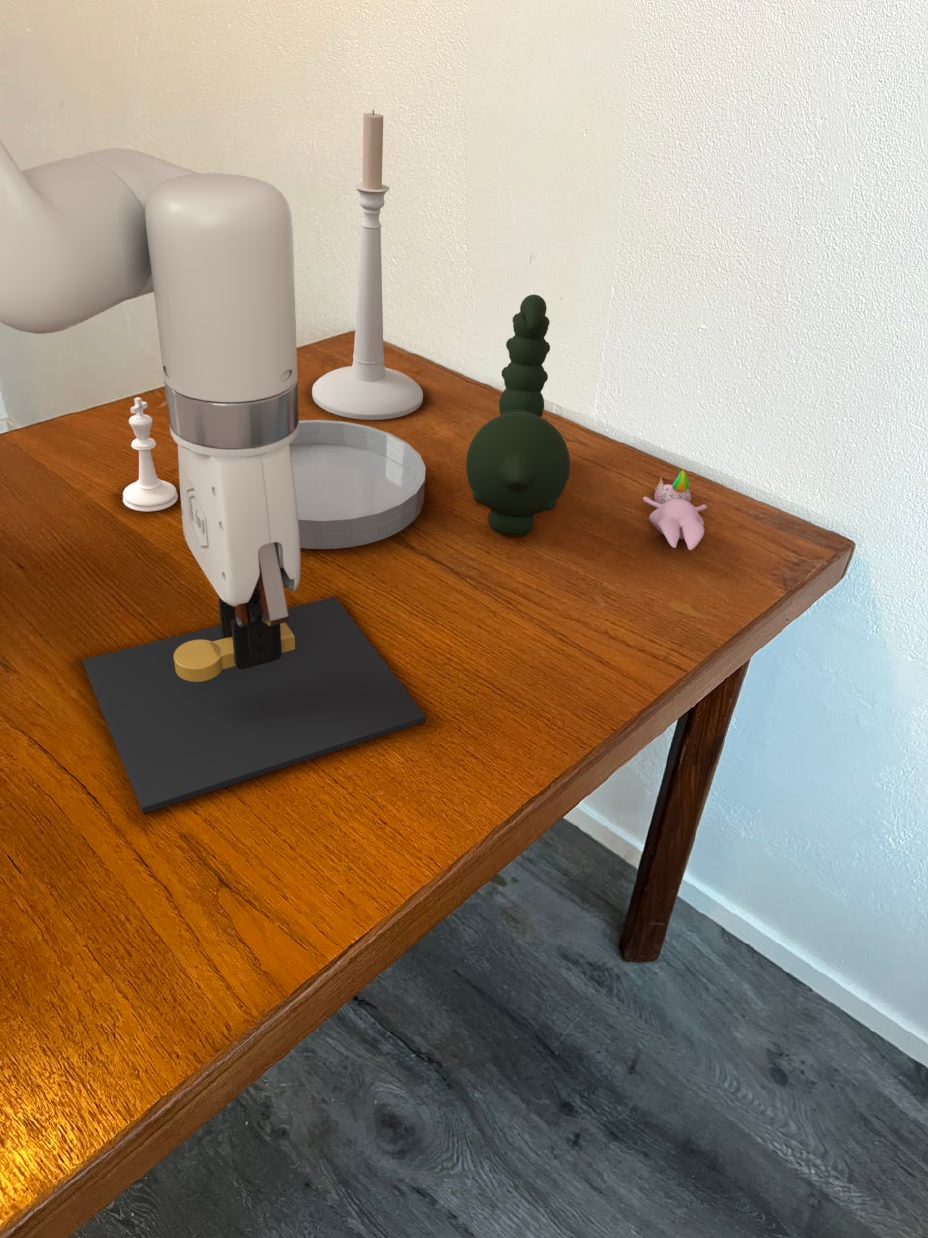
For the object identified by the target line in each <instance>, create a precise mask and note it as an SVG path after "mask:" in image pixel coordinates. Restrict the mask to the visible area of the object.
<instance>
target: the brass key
mask: <svg viewBox="0 0 928 1238" xmlns="http://www.w3.org/2000/svg"><path fill="white" fill-rule="evenodd" d="M280 631H281V650H282V653H283V652H287V651H291V650H294V649H295V636H294V635H293V633H292V632H291V630H290V629H289V627H288V626H287V624H286V623H281V624H280ZM174 664H175V671H176V673H177V675H178V676H179V677H181V678H182V679H184V680H187V681H191V682H202V681H207V680H210V679H212V678H214V677H216V676H217V675H218V674H220V672H221V671H222V669H226V668H229V667H233V666H236V664H235V661H234V650H233V638H232V637H229V638H224V639H220V640H217V641H213V642H212V641H209V640H193V641H189V642H186V643H184V644H182V645H181V646H179V647H178V648H177V649H176V651H175V653H174Z"/></svg>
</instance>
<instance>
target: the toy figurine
mask: <svg viewBox="0 0 928 1238" xmlns="http://www.w3.org/2000/svg"><path fill="white" fill-rule="evenodd" d="M547 309H548V308H547V302H546V301H545V299H544V298H543V297H542V296H540V295H539V294H535V293H534V294H529V295H527V296H526V297H525V298H523V300H522V301H521V304H520V306H519V312H518V313H515V314H514V315H513V317H512V327H513V332H514V335H513V336H512V337H510V338H508V339H507V341H506V344H505V347H506V350H508V357H509V360H510V362H509V363H508V365H507V366H505V367H503V368H502V370H501V377H502V379H503V382H504V387H505V389H504V390H503V391H502V393H501V394H500V396H499V397H500V398H499V401H498V411H499V415H498V416H496V417H493V418H492V419H490V420H489V421H488V422H486V423H485V424H483V425H482V426H481V428H479V430H478V431H477V432H476V433H475V434H474V437H473V438H472V440H471V442H470V444H469V446H468V449H467V453H466V457H465V458H466V459H465V470H466V477H467V482H468V484H469V488H470V490H471V492H472V499H473V500H474V501H475V503H477V504H479V505H483V506H484V507H486V508H487V509H489V512H488V514H487V515H488V516H487V523H488V526H489V528H490V529H491V530H492V531H493V532H494V533H496V534H499V535H502V536H506V537H522V536H525V535H527V534H529V533H531V531H532V530H533V528H534V525H535V515H538V514H540V513H542V512H544V511H545V512H550V511H552V510H554V509H555V508H556V506H557V502H558V500H559V498H560V497H561V495H562V494H563V492H564V491H565V488H566V485H567V482H568V480H569V476H570V471H571V459H570V452H569V448H568V446H567V443H566V441H565V439H564V437H563V436H562V434H561V433H560V432H559V430H558V429H557V428H556V427H555V426H554V425H553V424H551V422H549V421H548V420H547V419H545V418H543V414H544V411H545V399H544V396H543V393H542V390H543V389H544V387H545V383H546V382H547V381H548V378H549V374H548V373H547V371H546V370H545V368H544V366H543V364H544V363H545V361H546V358H547V355H548V354H549V352H550V350H551V345H550V343H549V342H548V341H547V340H546V338H545V337H546V336H547V333H548V330H549V326H550V323H551V322H550V318H549V317H548V316H547V315H546V314H547Z"/></svg>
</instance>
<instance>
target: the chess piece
mask: <svg viewBox="0 0 928 1238" xmlns="http://www.w3.org/2000/svg"><path fill="white" fill-rule="evenodd" d="M133 401H134V405H133V406H131V407H130V408H129V410H130V413H131V414H134V415H131V416H130V417H129V418H128V424H129V426H130V428H131V429H132V431H133V434H134V435H135V438H134V439H133V440H132V441H131V445H130V446H131V448H132V449H133V450H135V451H138V479H137V480H136V481H134V482H132V483H130V484H129V485H127V486H126V487H125V488H124V490H123V491H122V502H123V505H125V507H127V508H128V509H131V510H134V511H137V512H145V513H146V512H148V513H149V512H157V511H163V510H165V509H167V508H170V507H172V506H173V505H174V504H175V503H176V502H177V501H178V498H179V494H178V492H177V488H176V487H175V485H173V484H172V483H171V482H168V481H166V480H164V479H163V480H162V479H160V478H159V477H158V476H157V471H156V468H155V465H154V461H153V456H152V452H151V450H153V449H155V447H156V446H157V443H156V440H155V439H153V438H152V437H150V435H151V428H152V425H153V418H152V417H151V416H150V415H148V414H145V413H144V410H145V409H147V408H148V402H147V401H144V400H142V397H138V396H137V397H135V398H133Z"/></svg>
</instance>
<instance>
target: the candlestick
mask: <svg viewBox="0 0 928 1238" xmlns="http://www.w3.org/2000/svg"><path fill="white" fill-rule="evenodd" d="M383 146H384V115H383V114H380V113H375V109H372V112H369V113H368V112H365V113H363V116H362V170H361V171H362V172H361V173H362V177H361V182H359V183H356V184H354V185H353V186H354V188H355V189H356V190H357V192H358V194H359V199H358V204H359V206H360V207H361V208H362V213H363V220H362V222H361V224H360V226H361V231H360V232H361V233H360V247H359V262H358V264H359V265H358V280H357V281H358V282H357V296H356V311H355V326H354V327H355V328H354V344H353V355H352V359H353V360H352V365H349V366H343V367H340V368H339V367H338V368H336V369H332V370H331V371H329V372H326V373H325V374H324V375H322V376H321V377H319V378H318V379H317V380H316V381H315V382H314V383H313V385H312V388H311V397H312V399H313V401H314V403H315V404H316V405H317V406H318V407H319V408H321V409H323V410H324V411H326V412H327V413H331V414H333V415H336V416H340V417H344V418H349V419H353V420H354V419H355V420H361V421H362V420H363V421H364V420H365V421H380V420H381V421H383V420H389V419H396V418H400V417H404V416H407V415H409V414H412V413H413V412H415V411H417V410H418V409H419V408H420V407H421V405H422V404H423V400H424V392H423V389H422V387H421V386H420V385H419V384H418V383H417V381H415V380H414V379H413V378H411V377H410V376H408V375H407V374H405V373H403V372H401V371H399V370H395V369H393V368H388V367H385V353H384V351H385V350H384V316H383V315H384V314H383V311H384V310H383V273H382V271H383V270H382V268H383V267H382V232H381V231H382V229H381V228H382V224H381V221H380V215H381V209H382V208H383V207H384V206H385V203H386V202H385V195H386V193H387V192H388V191H389V190H390V187H389V185H386V184H383V156H384V155H383V152H384V151H383Z"/></svg>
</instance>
